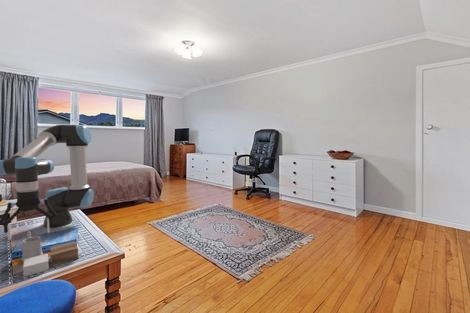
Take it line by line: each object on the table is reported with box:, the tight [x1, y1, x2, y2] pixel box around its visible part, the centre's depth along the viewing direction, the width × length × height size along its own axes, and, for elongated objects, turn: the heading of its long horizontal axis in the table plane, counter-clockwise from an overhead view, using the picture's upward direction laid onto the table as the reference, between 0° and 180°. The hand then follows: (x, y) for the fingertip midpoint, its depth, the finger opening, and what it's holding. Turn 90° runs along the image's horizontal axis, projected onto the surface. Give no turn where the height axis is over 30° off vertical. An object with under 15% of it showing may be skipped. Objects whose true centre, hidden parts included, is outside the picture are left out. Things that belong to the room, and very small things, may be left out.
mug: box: [21, 230, 44, 264], centre depth 110 cm, size 8×12×12 cm, turn 50°
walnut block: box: [49, 240, 79, 267], centre depth 111 cm, size 10×10×5 cm
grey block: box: [22, 253, 50, 277], centre depth 101 cm, size 8×8×4 cm
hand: (29, 235), depth 109 cm, fingers open, 13 cm apart
